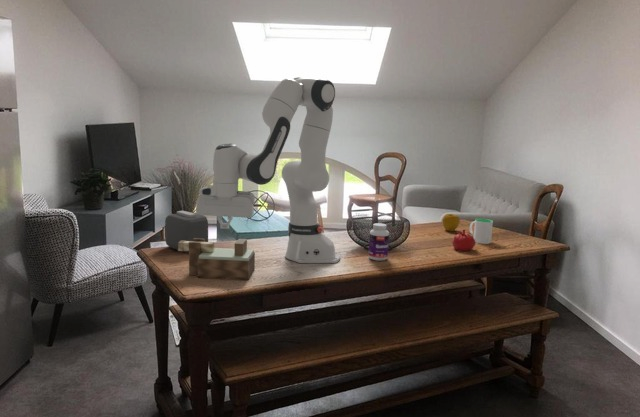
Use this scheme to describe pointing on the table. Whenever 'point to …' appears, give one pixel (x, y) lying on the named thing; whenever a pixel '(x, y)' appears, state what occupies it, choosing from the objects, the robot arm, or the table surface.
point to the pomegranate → (463, 241)
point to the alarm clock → (185, 228)
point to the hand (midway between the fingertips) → (224, 228)
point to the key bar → (204, 246)
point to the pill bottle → (378, 242)
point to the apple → (450, 222)
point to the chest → (218, 265)
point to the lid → (230, 252)
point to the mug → (482, 230)
